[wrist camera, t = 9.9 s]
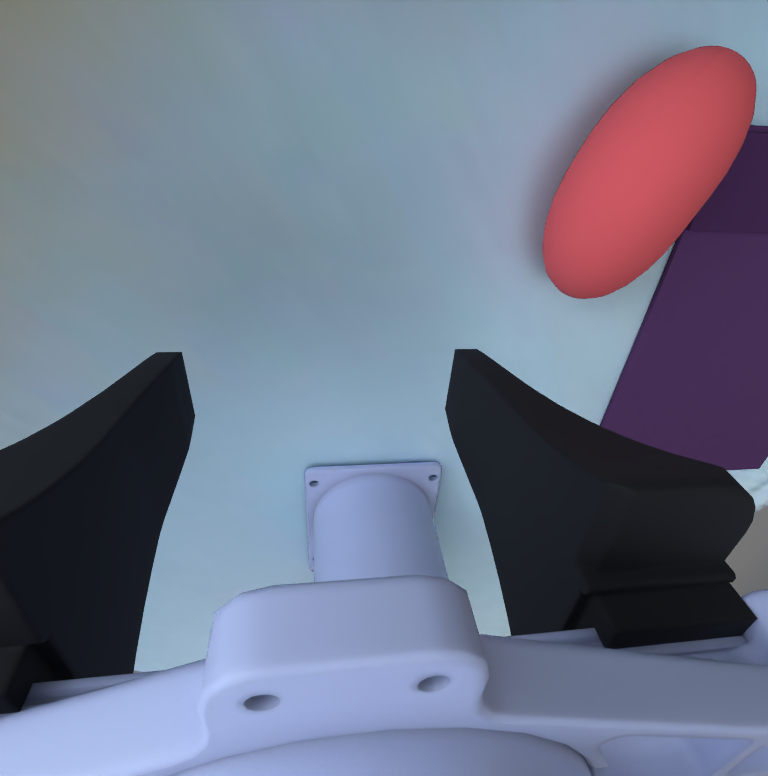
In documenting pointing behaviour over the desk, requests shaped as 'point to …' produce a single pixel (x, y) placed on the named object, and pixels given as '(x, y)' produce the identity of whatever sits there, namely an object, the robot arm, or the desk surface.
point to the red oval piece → (647, 170)
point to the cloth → (708, 331)
